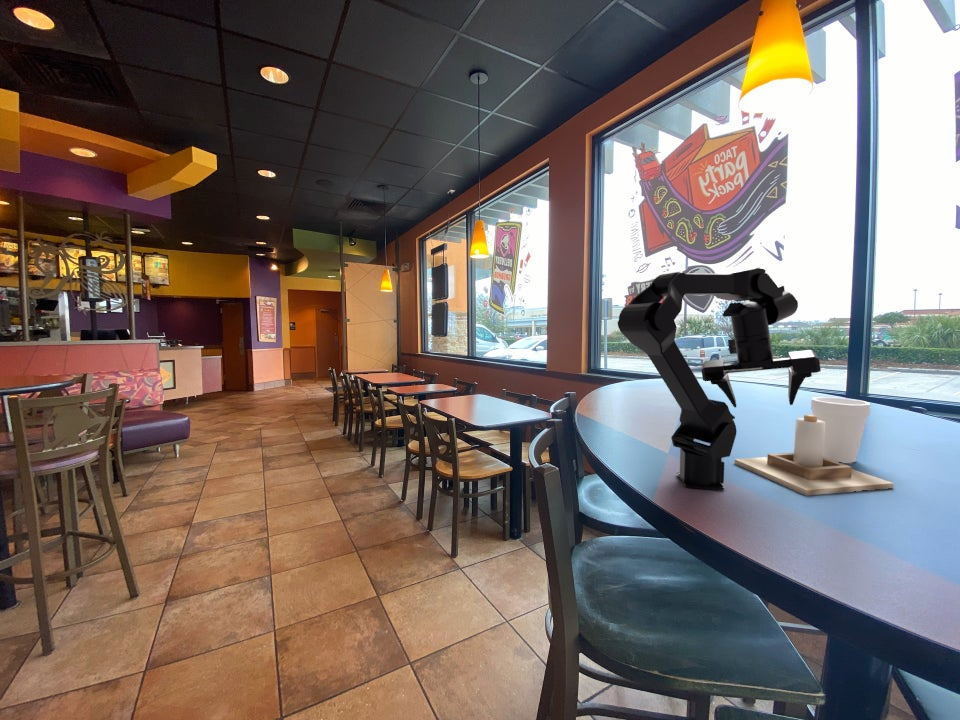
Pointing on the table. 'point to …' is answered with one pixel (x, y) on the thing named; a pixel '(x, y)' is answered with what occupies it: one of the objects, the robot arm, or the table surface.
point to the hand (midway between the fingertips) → (762, 405)
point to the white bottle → (809, 441)
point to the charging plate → (812, 475)
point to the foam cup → (841, 426)
